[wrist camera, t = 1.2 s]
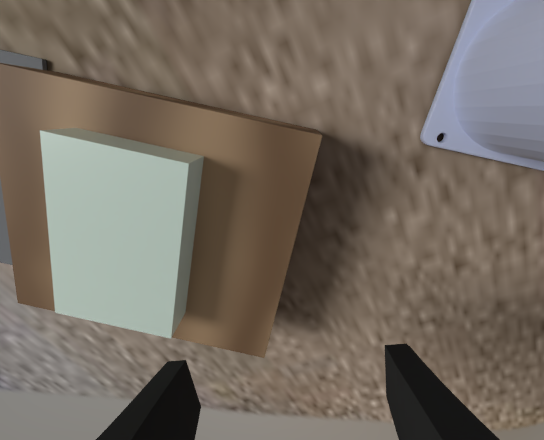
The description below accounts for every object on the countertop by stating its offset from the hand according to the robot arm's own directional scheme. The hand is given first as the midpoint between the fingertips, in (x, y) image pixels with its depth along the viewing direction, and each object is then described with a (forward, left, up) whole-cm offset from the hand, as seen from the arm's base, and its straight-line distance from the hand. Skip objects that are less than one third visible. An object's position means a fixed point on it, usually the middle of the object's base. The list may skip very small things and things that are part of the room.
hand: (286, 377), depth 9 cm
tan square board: (+8, 0, -10) cm, 13 cm away
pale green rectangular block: (+8, 0, -6) cm, 10 cm away
